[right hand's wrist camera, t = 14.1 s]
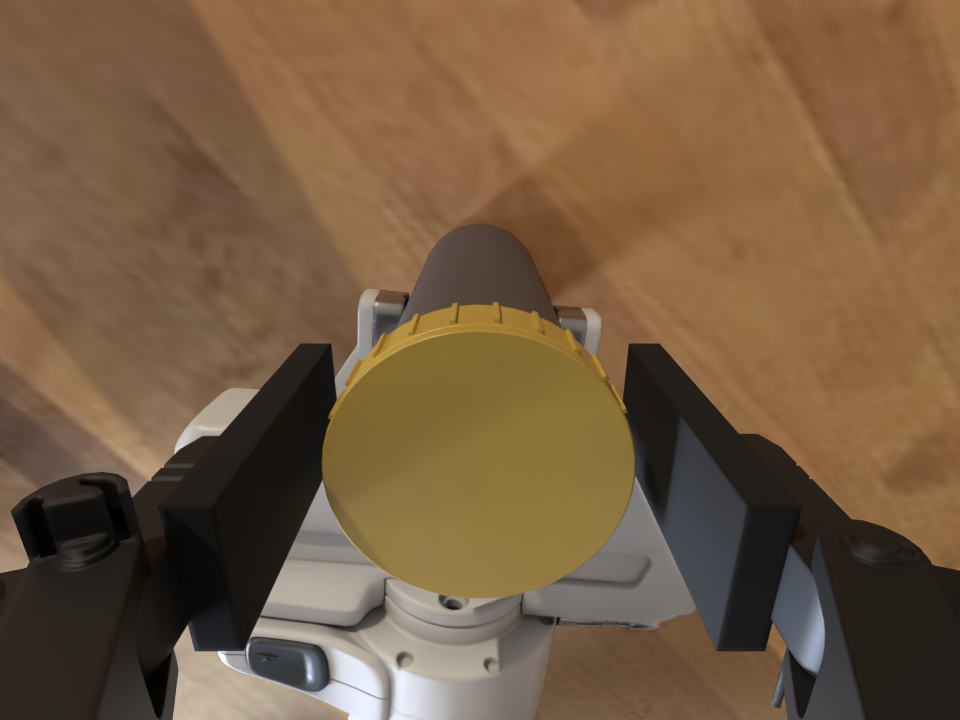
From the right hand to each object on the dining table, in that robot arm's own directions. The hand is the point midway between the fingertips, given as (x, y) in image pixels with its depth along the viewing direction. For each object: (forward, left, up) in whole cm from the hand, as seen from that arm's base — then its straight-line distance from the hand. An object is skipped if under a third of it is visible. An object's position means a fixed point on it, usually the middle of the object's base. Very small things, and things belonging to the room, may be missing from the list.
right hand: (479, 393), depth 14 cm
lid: (0, 0, +3) cm, 3 cm away
